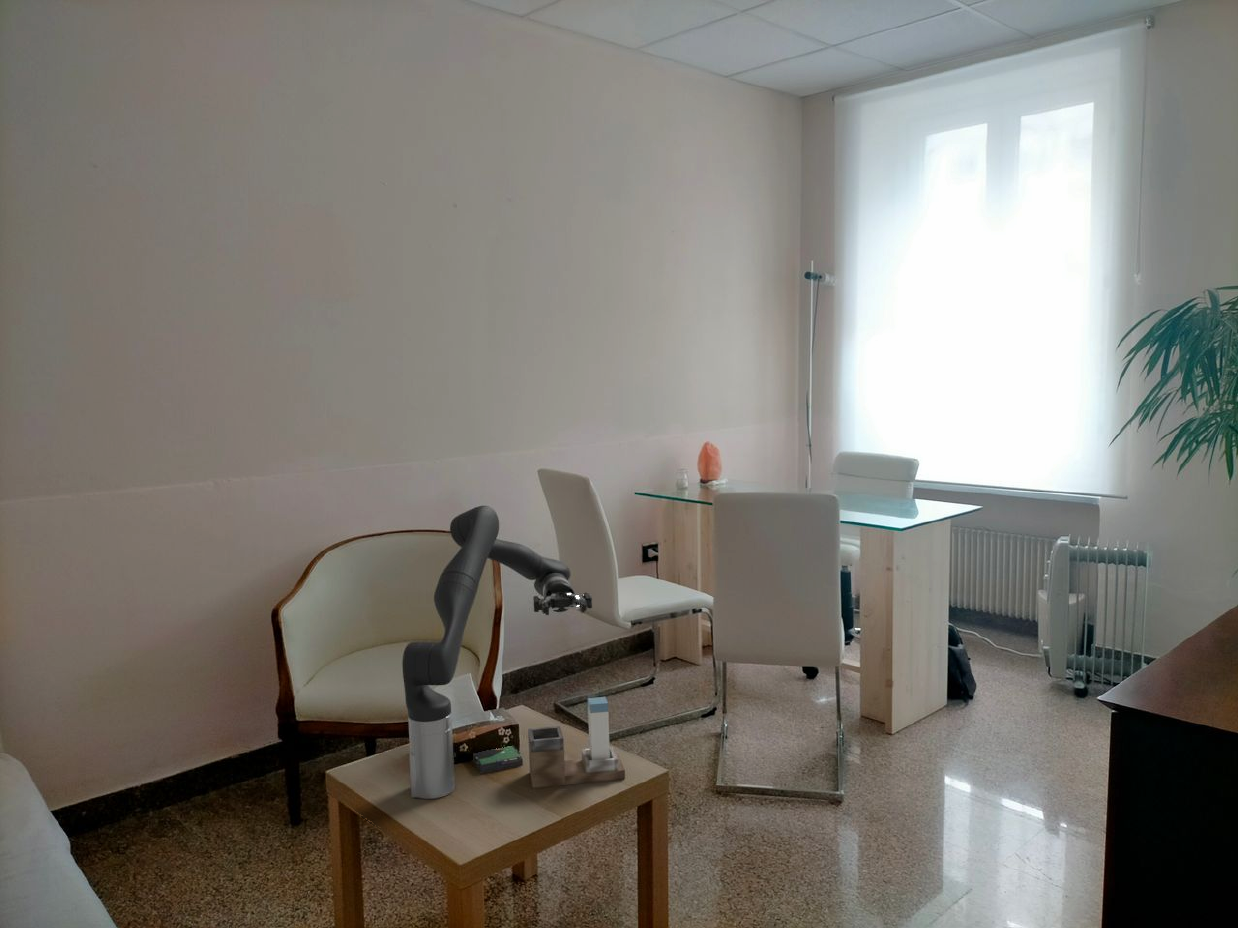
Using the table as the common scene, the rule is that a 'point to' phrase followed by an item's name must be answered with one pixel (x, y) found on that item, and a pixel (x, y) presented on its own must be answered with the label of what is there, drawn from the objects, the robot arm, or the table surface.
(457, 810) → the table surface
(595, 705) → the plug
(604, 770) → the square socket stand
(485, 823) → the table surface
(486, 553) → the robot arm
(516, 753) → the disk drive
